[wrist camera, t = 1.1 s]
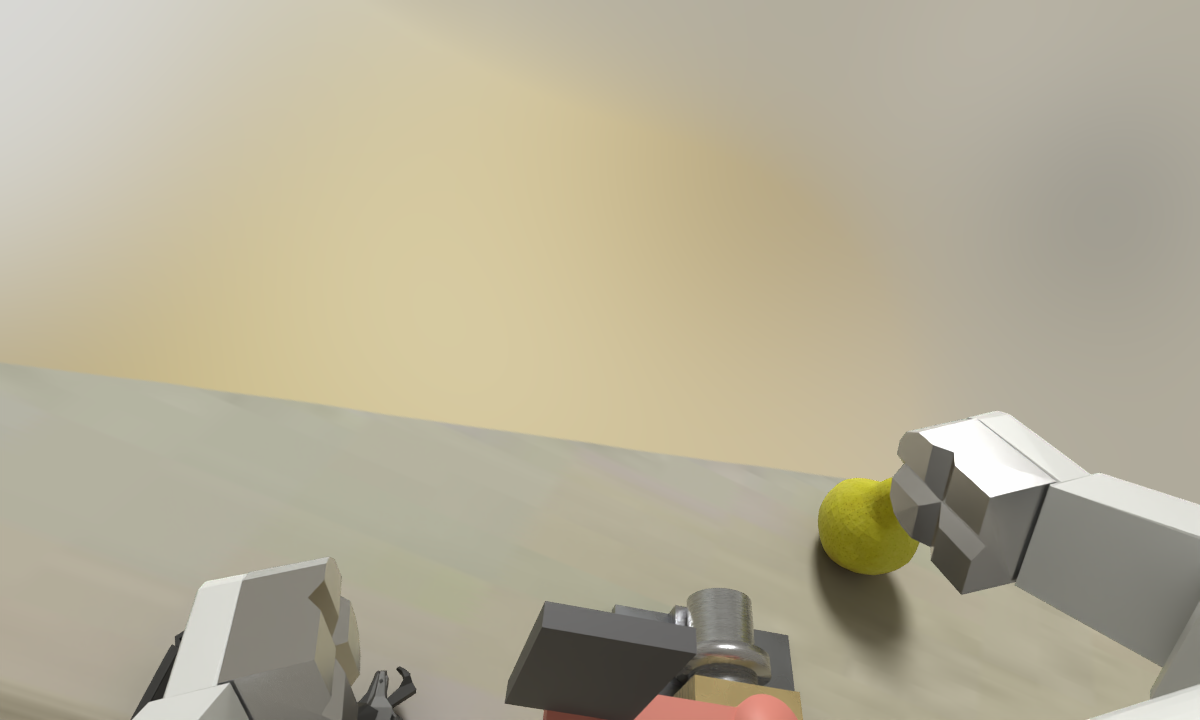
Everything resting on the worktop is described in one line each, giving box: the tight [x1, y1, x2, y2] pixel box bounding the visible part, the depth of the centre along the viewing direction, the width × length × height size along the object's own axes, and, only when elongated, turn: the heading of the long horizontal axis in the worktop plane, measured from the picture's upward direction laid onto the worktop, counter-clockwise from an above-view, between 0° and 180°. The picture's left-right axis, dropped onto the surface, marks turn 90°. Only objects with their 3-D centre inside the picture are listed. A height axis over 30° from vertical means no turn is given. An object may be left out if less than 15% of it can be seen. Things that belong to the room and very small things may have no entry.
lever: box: [505, 601, 798, 720], centre depth 31 cm, size 15×4×10 cm, turn 86°
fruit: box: [818, 478, 919, 575], centre depth 50 cm, size 7×7×12 cm
